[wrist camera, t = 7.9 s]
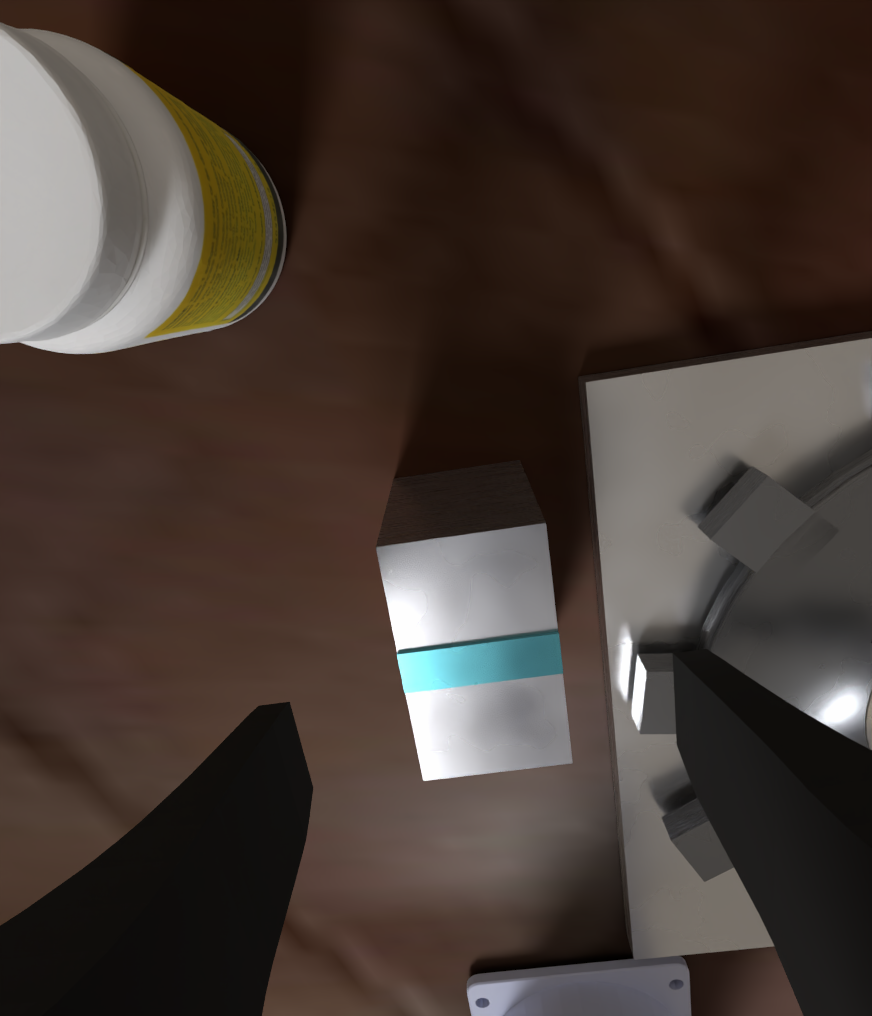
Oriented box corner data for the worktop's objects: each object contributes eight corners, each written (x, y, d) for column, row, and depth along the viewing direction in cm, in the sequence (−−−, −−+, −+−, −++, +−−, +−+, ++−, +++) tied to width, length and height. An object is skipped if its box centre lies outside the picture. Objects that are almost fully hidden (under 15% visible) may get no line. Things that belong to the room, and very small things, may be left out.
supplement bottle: (249, 92, 15) (33, -114, 7) (316, 300, 17) (196, 319, 9) (61, 156, 16) (-338, 28, 8) (142, 352, 17) (-122, 414, 9)
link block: (542, 648, 20) (573, 766, 15) (428, 663, 20) (423, 783, 15) (519, 459, 18) (546, 524, 13) (393, 478, 18) (375, 549, 13)
